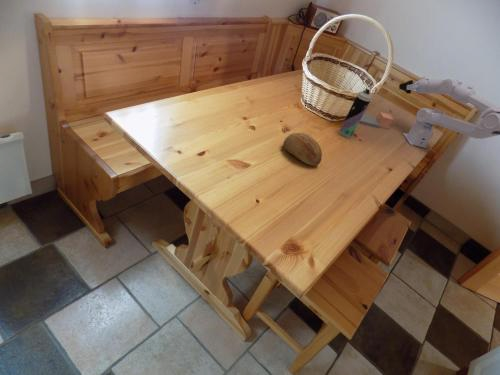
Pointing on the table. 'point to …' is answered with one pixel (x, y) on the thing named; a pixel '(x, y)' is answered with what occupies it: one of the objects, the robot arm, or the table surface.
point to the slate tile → (369, 120)
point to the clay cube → (384, 120)
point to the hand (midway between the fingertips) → (406, 85)
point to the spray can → (355, 113)
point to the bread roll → (303, 148)
